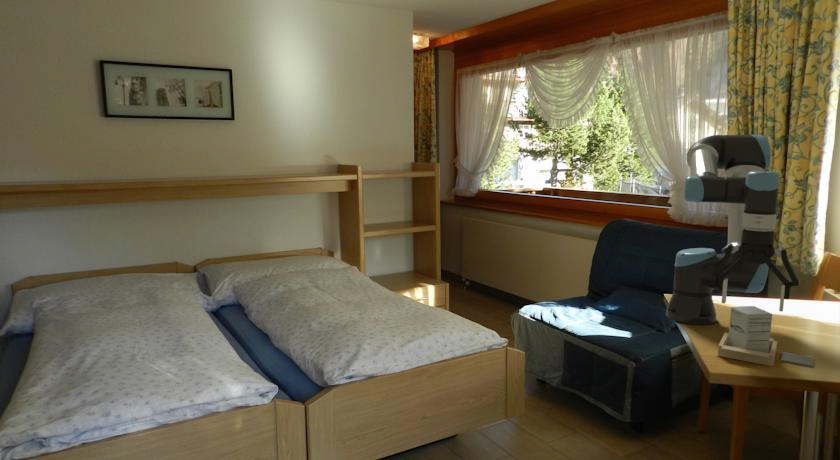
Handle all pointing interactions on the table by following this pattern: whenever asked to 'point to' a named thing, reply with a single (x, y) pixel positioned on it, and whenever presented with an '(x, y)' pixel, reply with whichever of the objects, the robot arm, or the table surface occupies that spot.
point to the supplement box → (750, 328)
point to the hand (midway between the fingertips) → (751, 306)
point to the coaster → (797, 359)
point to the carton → (747, 352)
